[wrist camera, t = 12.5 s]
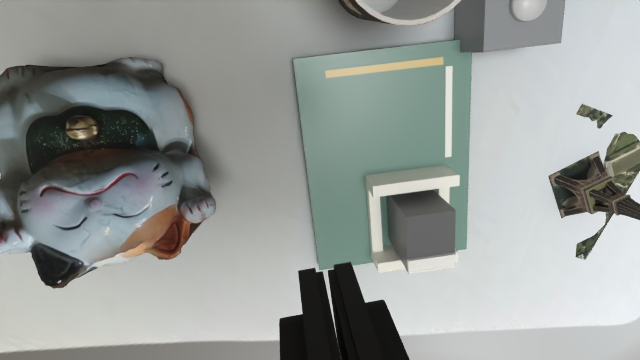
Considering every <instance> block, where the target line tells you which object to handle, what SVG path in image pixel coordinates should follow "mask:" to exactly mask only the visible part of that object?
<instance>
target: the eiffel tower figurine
mask: <svg viewBox="0 0 640 360" xmlns="http://www.w3.org/2000/svg"><path fill="white" fill-rule="evenodd" d="M577 114H578V115H580V116H583V117H589V118H590V119H591V120H592V121H595V120H597V127H598V128H601V127H602V125H603V124H604V123H605V122H606V121H607V120H608V119H609V118H610V117H611V116H613V115H610V114H607V113H605V112H602V111H599V110H596V109H594V108H591V107H588V106H586V105H582V106H581V108H580V109H579V111H578V112H577ZM639 171H640V141H639V140H638V139H637V137H636V136H635V135H634V134H627V133H626V132H622V133H618V134H615V136H614V138H613V140H612V141H611V143H610V145H609V147H608V148H607V153H606V157H605V160H604V163H602V161H601V159H600V155H599V151H598V152H596V153H594V154H592V155H590V156H588V157H586V158H584V159H582V160H580V161H578V162H576V163H574V164H572V165H570V166H568V167H566V168H564V169H562V170H560V171H558V172H556V173H554V174H552V175H550V176H549V180H550V183H551V186H552V189H553V192H554V196H555V199H556V202H557V205H558V209H559V212H560V215H561V218H563V217H565V216H568V215H574V214H579V213H584V212H589V213H591V214H594V213H596V212H598V211H601V212H606V222H605V225H604V226H603V227H602V228H601V229H600V230H599V231H598V232H597V233H596V234H595V235H594V236H592V237H590V238H588V239H586V240H584V241H582V242H580V243H578V244H577V248H576V257H577V258H581V259H584V260H585V259H586V258H587V256H588V255H589V253H590V251H591V250H592V248H593V246H594V245H595V243H596V241H597V240H598V238H599V236H600V235H601V233H602V231H603V230H604V228H605V226H606V225H607V223H608V222H609V220H610V218H611V217H612V215H613V214H614V213H615V214H616V215H620V214H621V215H625V216H629V217H632V218H635V219H638V220H640V204H639V203H637V202H635V201H634V200H633V199H631V197H630V195H626V193H627V191H628V189H629V188H630V186H631V184H632V183H633V181H634V179H635V178H636V176H637V174H638V173H639Z"/></svg>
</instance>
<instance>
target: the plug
mask: <svg viewBox="0 0 640 360" xmlns="http://www.w3.org/2000/svg"><path fill="white" fill-rule="evenodd" d="M386 202H387V221H388V238H389V240H390V242H391V243H392V245H393V247H394V249H395V250H396V252H397V254H398V256H399V258H400V259H401V261H402V263H403V265H404V266H405V268H406V270H407V272H408V273H409V274H412V273H419V272H426V271H433V270H440V269H446V268H453V267H456V262H457V254H456V253H455V223H456V210H455V209H454V208H453V207H452V206H451V205H450V204H448V203H447V202H446V201H445V200H444V199H443V198H442V197H441V196H440V195H439V194H437V193H436V192H435V191H434V190H433V189H432V190H425V191H417V192H410V193H403V194H395V195H388V196H386Z"/></svg>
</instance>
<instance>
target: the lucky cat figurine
mask: <svg viewBox="0 0 640 360" xmlns="http://www.w3.org/2000/svg"><path fill="white" fill-rule="evenodd" d="M193 128H194V124H193V117H192V112H191V109H190V107H189V106H188V105H187V103H186V102H185V100H184V98H183V97H182V94H181V92H180V90H179V89H178V88H174V87H172V86H170V85H168V83H167V82H166V80H165V79H164V77H163V74H162V65H161V64H160V63H158V62H156V61H155V60H144V59H139V58H131V57H129V58H120V59H117V60H115V61H112V62H109V63H107V64H103V65H97V66H86V67H48V66H35V65H26V66H15V67H10V68H7V69H6V70H5V71H4V72H3V73H2V74H1V75H0V173H1V179H0V253H10V254H15V253H25V252H31V253H32V258H33V260H34V262H35V265H36V268H37V271H38V274H39V276H40V278H41V280H42V281H43V282H44V283H45V285H47V286H50V287H52V288H63V287H65V286H66V285H67V284H68V283H69V282H70V281H71V280H73V279H75V278H78V277H80V276H82V275H84V274H86V273H88V272H90V271H92V270H95V269H97V268H98V267H100V266H107V265H115V264H121V263H125V262H127V261H129V260H131V259H132V258H134V257H136V256H138V255H141V254H143V253H146V252H147V253H151V254H152V255H154V256H156V257H158V259H166V260H168V259H172V258H175V257H176V256H177V255H179V254H180V253H181V248H182V246H183V245H184V244H185V243H186V242H187V241H188V239H189V238H190V236H191V235H192V233H193V232H194V231H195V230H196V229H197V228H198V226H199V225H200V224H201V223H202V222H203V221H204V220H205V219H207V218H208V217H209V216H211V215H212V214H213V213H214V212H215V209H216V201H215V199H214V198H213V196H212V194H211V192H210V186H209V182H208V178H207V177H206V176H205V175H204V171H203V164H202V162H201V160H200V158H199V156H198V153H197V150H196V146H195V142H194V136H193Z"/></svg>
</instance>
